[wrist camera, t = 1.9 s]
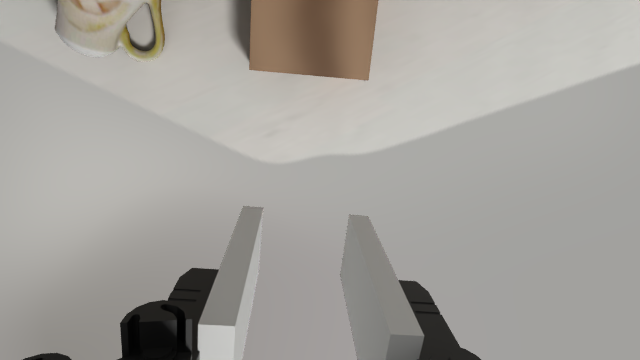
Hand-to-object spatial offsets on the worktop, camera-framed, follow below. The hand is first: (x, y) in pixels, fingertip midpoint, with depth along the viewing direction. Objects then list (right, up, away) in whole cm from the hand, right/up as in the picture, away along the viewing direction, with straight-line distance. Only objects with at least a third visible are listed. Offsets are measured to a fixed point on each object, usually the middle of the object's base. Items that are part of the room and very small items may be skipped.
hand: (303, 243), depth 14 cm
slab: (0, +16, +15) cm, 22 cm away
